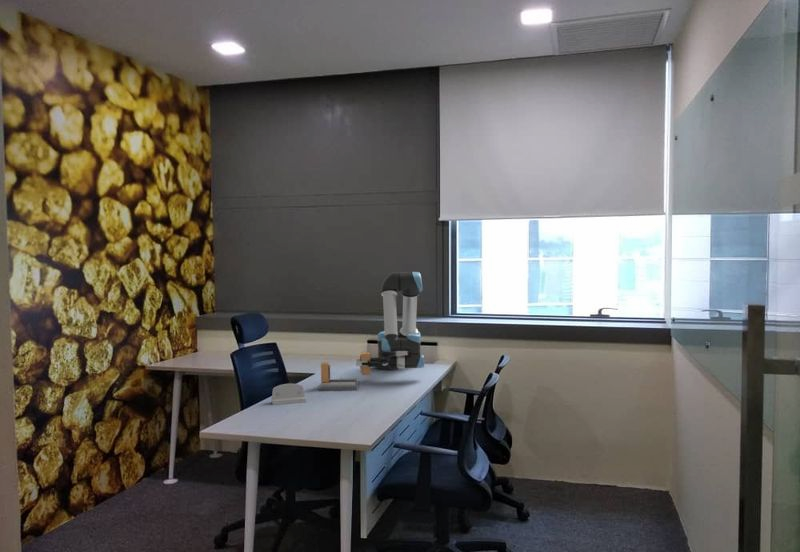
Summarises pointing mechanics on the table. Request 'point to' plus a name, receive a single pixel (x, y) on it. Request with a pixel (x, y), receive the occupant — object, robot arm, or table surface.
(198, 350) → the table surface
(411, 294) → the robot arm
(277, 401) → the hinge
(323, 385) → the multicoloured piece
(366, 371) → the orange wooden block
